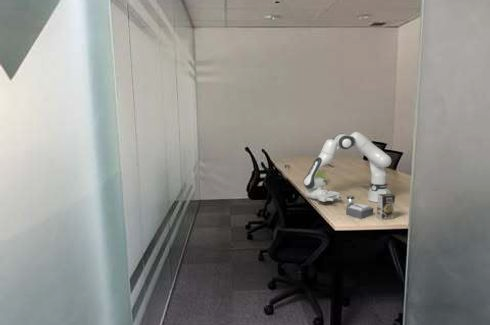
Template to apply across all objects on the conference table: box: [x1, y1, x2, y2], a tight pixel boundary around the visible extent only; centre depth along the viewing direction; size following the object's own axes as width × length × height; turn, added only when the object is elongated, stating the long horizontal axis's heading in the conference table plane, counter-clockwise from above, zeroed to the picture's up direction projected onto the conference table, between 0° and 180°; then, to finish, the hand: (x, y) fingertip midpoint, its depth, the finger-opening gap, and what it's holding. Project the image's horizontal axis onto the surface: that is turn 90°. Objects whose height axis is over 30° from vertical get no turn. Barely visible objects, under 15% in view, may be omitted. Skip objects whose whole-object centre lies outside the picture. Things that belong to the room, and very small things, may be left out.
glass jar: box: [346, 195, 355, 208], centre depth 246 cm, size 5×5×10 cm
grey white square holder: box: [345, 203, 374, 220], centre depth 234 cm, size 14×12×6 cm
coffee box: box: [376, 193, 396, 221], centre depth 225 cm, size 9×6×16 cm
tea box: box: [308, 169, 326, 186], centre depth 334 cm, size 15×10×15 cm, turn 84°
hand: (337, 198), depth 255 cm, fingers open, 8 cm apart
